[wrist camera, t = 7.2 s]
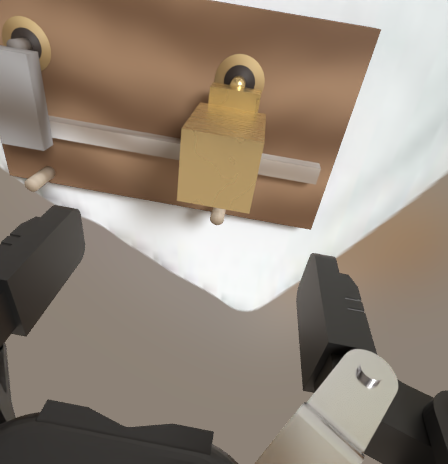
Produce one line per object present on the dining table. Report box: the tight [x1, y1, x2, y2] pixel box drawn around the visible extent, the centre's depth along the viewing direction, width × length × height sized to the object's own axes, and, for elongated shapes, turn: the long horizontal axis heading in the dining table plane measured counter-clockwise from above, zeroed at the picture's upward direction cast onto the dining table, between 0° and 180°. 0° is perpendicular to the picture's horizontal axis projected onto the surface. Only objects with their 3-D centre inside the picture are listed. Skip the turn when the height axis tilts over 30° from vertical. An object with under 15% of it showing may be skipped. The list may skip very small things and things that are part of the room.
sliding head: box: [177, 76, 266, 214], centre depth 20 cm, size 6×4×7 cm, turn 172°
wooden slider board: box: [0, 0, 381, 230], centre depth 23 cm, size 14×25×4 cm, turn 82°
